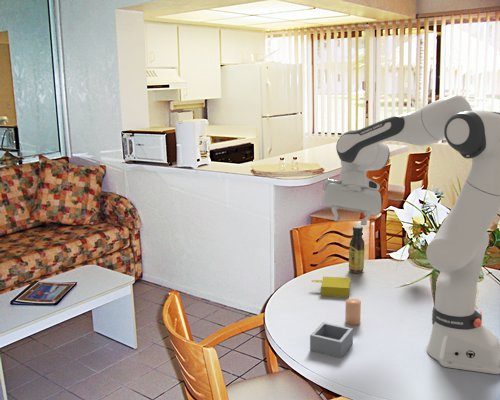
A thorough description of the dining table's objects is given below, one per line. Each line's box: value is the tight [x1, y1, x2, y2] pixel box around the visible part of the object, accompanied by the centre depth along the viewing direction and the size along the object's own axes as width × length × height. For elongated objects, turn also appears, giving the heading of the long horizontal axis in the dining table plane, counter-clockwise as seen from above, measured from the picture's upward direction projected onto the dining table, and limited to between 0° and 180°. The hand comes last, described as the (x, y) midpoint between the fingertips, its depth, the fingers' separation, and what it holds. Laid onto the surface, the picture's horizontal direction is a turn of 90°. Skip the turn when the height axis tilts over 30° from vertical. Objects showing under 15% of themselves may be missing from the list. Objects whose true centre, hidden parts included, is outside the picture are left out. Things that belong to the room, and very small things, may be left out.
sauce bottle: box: [348, 224, 365, 274], centre depth 229 cm, size 7×6×20 cm
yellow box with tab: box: [311, 276, 352, 298], centre depth 212 cm, size 16×8×15 cm
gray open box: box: [309, 321, 354, 359], centre depth 169 cm, size 10×10×5 cm
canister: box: [344, 298, 362, 327], centre depth 185 cm, size 5×5×8 cm
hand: (350, 222), depth 182 cm, fingers open, 8 cm apart
